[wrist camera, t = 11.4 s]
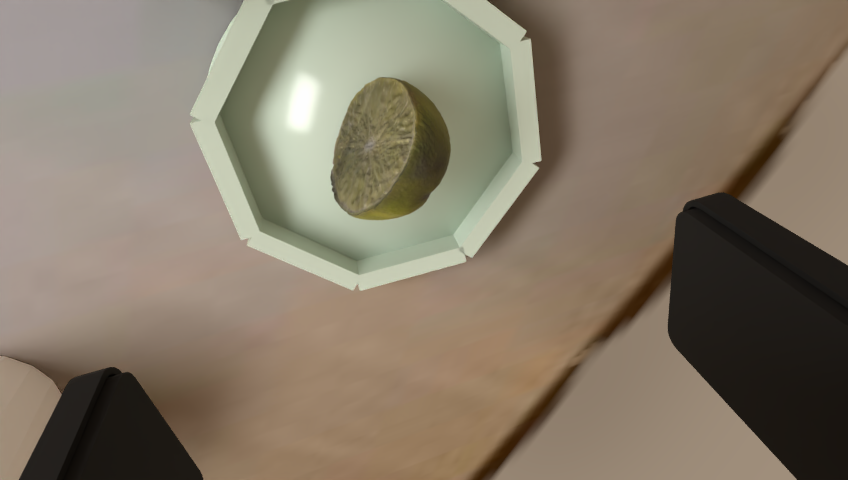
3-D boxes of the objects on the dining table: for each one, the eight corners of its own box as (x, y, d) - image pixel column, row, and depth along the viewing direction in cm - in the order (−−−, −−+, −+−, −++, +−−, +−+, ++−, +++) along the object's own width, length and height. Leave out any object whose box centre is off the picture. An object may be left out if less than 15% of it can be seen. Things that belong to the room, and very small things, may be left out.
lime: (334, 195, 22) (340, 256, 17) (311, 76, 19) (310, 113, 15) (439, 177, 22) (470, 232, 18) (429, 59, 20) (462, 90, 15)
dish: (144, -4, 18) (128, 0, 16) (507, -88, 18) (525, -92, 17) (273, 295, 24) (270, 319, 23) (537, 224, 25) (552, 242, 23)
